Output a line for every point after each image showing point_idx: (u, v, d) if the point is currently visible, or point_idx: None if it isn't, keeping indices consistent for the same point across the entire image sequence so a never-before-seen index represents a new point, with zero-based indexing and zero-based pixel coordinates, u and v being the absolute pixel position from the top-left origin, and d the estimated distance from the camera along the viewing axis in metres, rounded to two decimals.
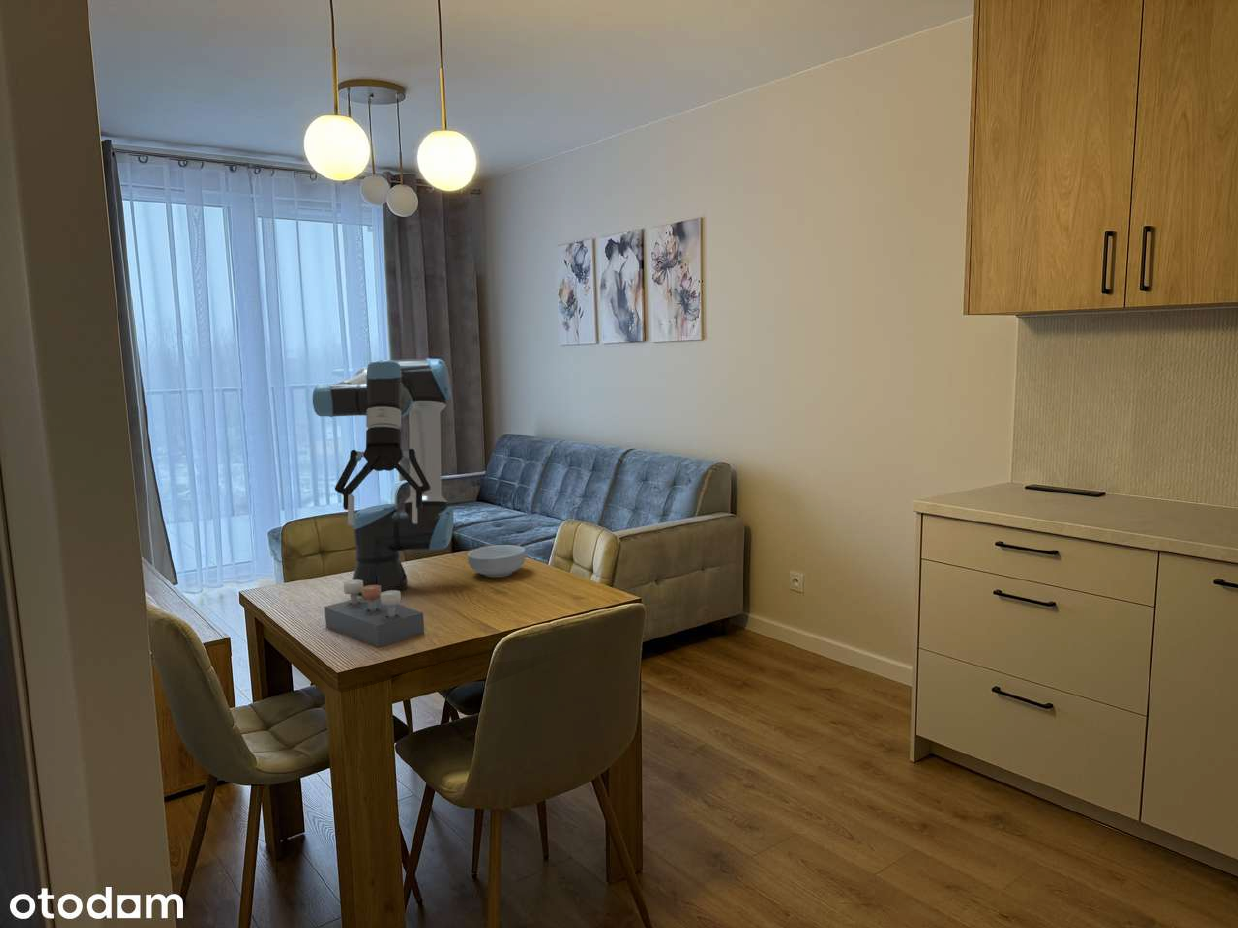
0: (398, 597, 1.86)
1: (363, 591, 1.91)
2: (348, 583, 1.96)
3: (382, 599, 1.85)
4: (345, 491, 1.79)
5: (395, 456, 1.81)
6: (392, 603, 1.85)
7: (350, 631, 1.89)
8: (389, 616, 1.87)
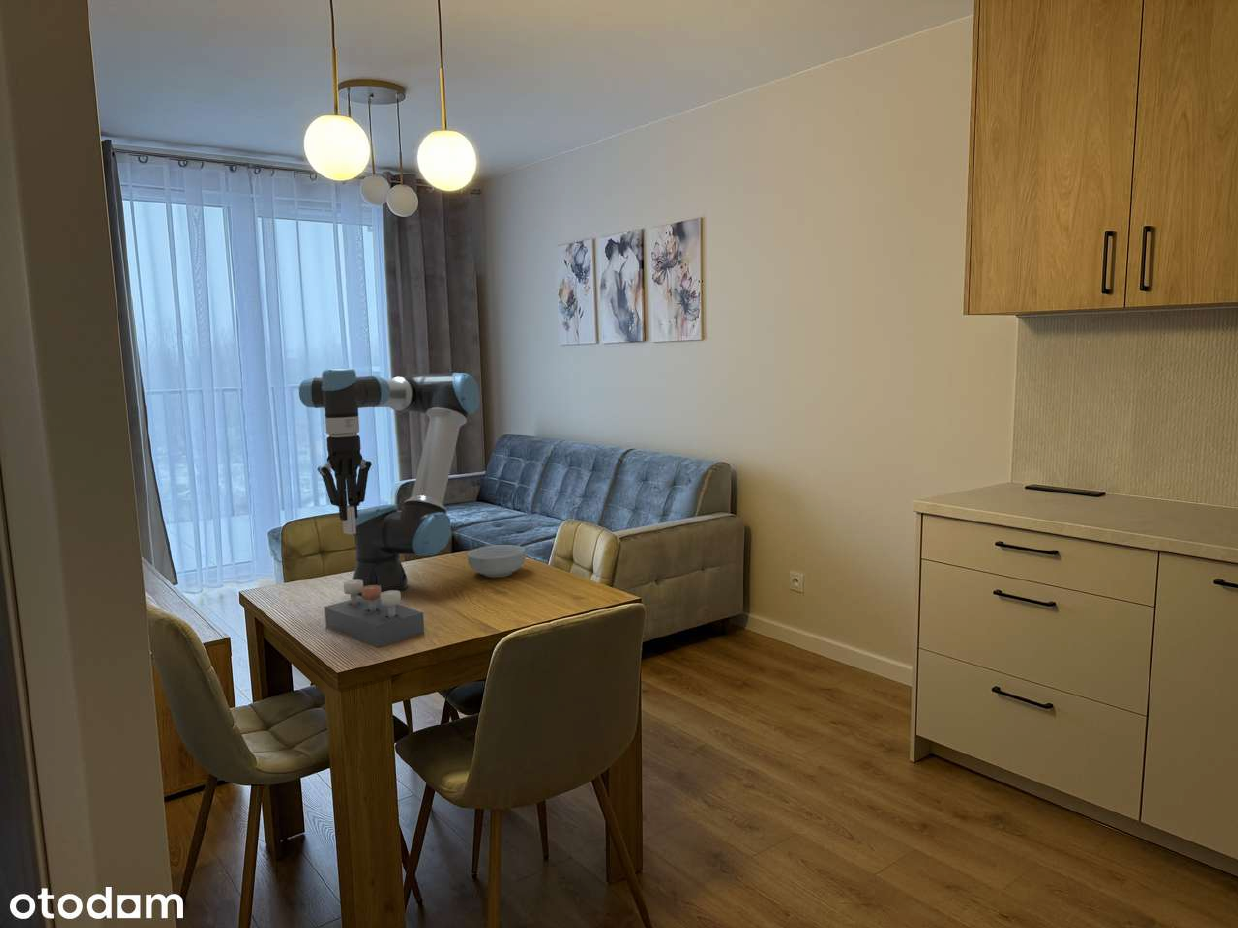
0: (398, 597, 1.86)
1: (363, 591, 1.91)
2: (348, 583, 1.96)
3: (382, 599, 1.85)
4: (345, 505, 1.93)
5: (357, 461, 1.95)
6: (392, 603, 1.85)
7: (350, 631, 1.89)
8: (389, 616, 1.87)
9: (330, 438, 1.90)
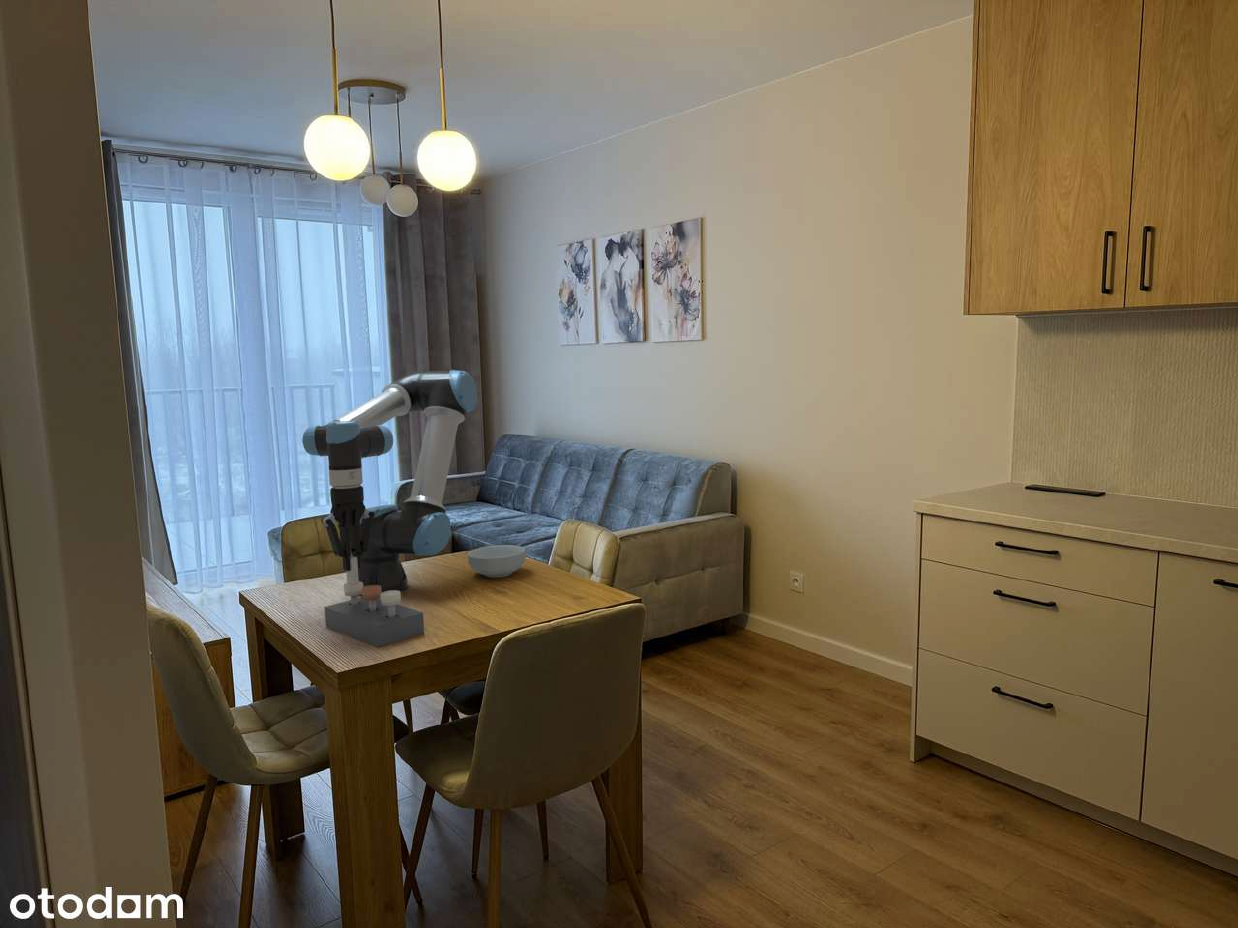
0: (398, 597, 1.86)
1: (363, 591, 1.91)
2: (348, 585, 1.96)
3: (382, 599, 1.85)
4: (348, 555, 1.95)
5: (361, 511, 1.97)
6: (392, 603, 1.85)
7: (350, 631, 1.89)
8: (389, 616, 1.87)
9: (334, 490, 1.92)
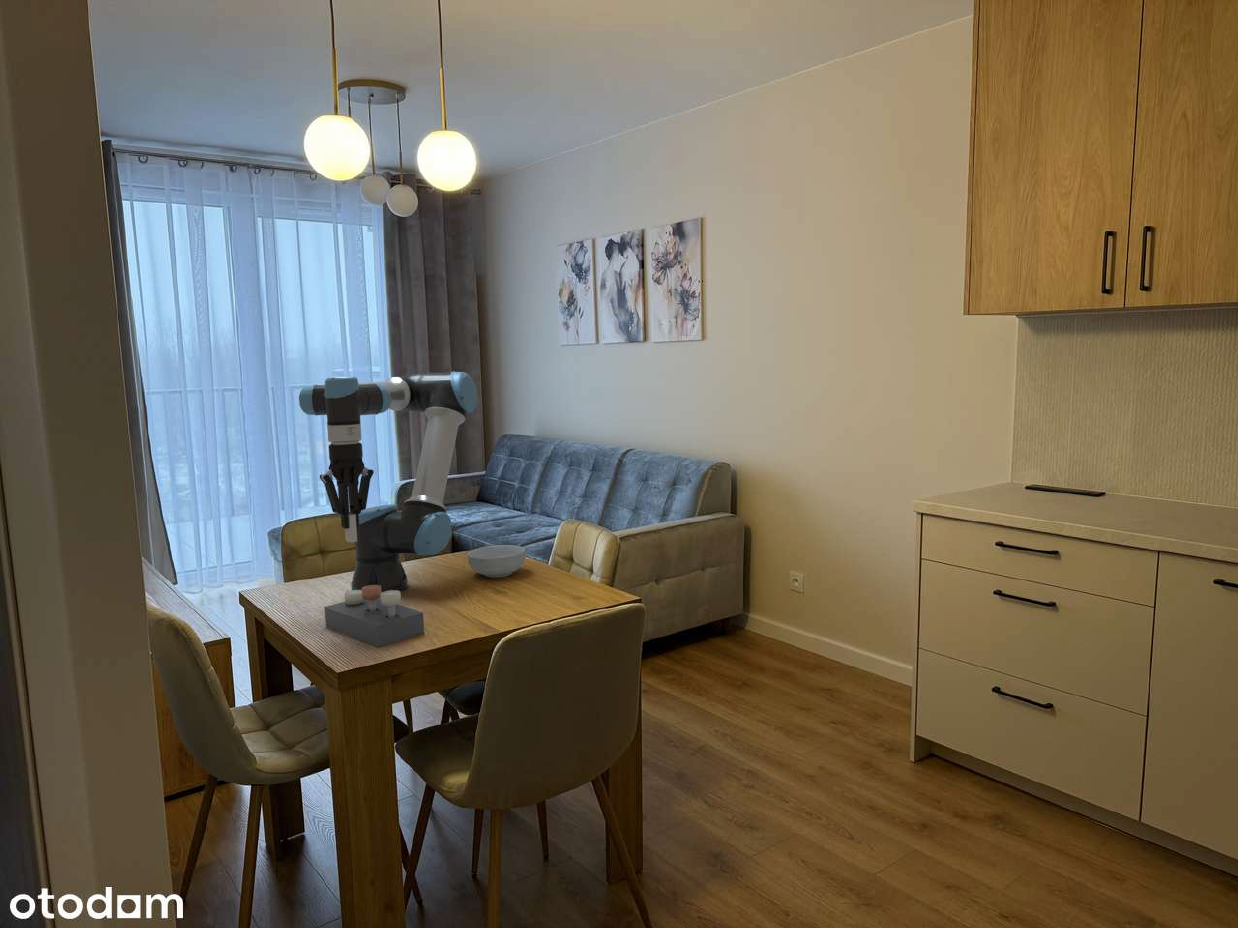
0: (398, 597, 1.86)
1: (363, 591, 1.91)
2: (349, 594, 1.97)
3: (382, 599, 1.85)
4: (347, 513, 1.93)
5: (359, 469, 1.95)
6: (392, 603, 1.85)
7: (350, 631, 1.89)
8: (389, 616, 1.87)
9: (332, 446, 1.90)
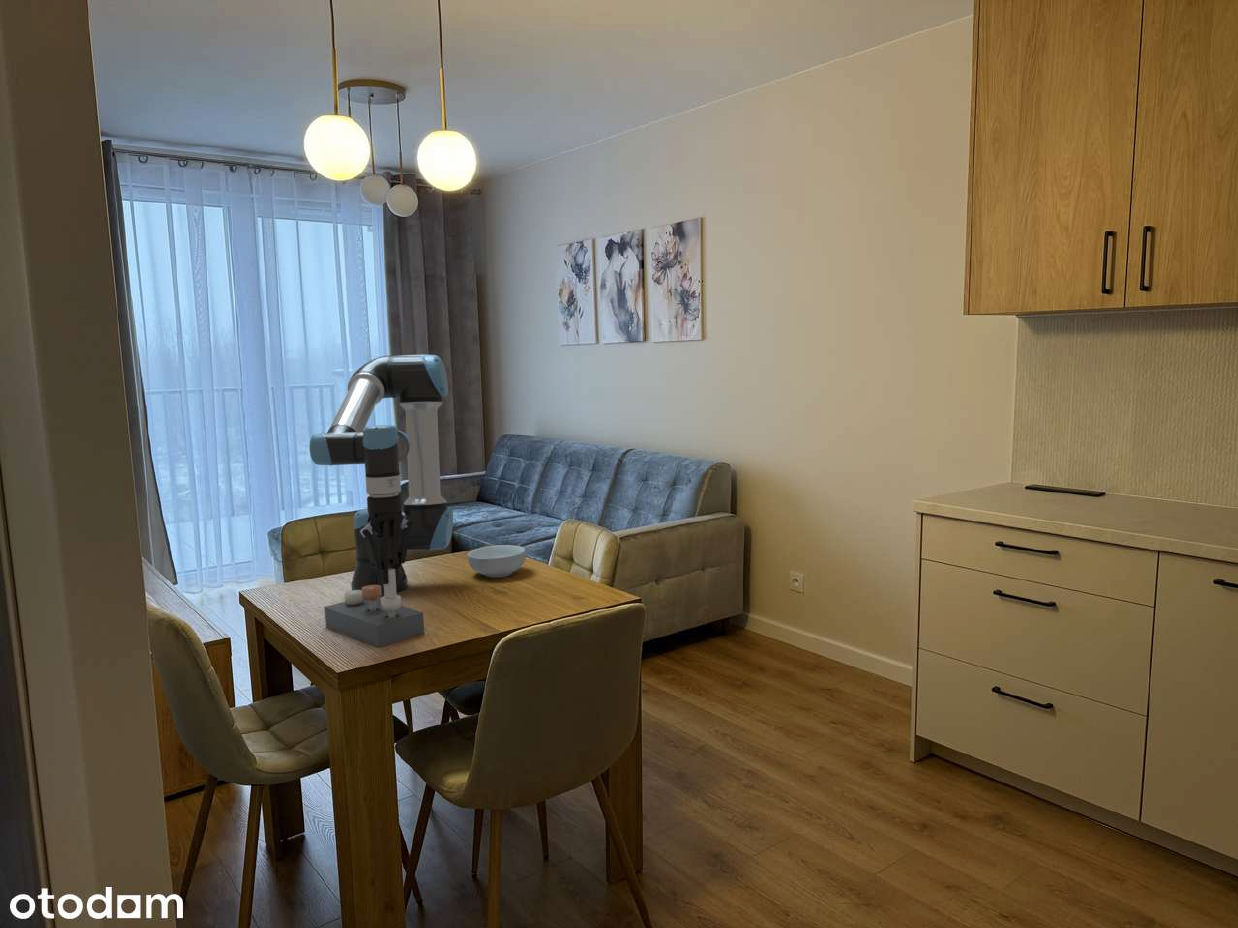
0: (398, 602, 1.86)
1: (363, 591, 1.91)
2: (349, 594, 1.97)
3: (382, 604, 1.86)
4: (386, 568, 1.84)
5: (399, 521, 1.86)
6: (392, 608, 1.85)
7: (350, 631, 1.89)
8: None
9: (371, 498, 1.81)
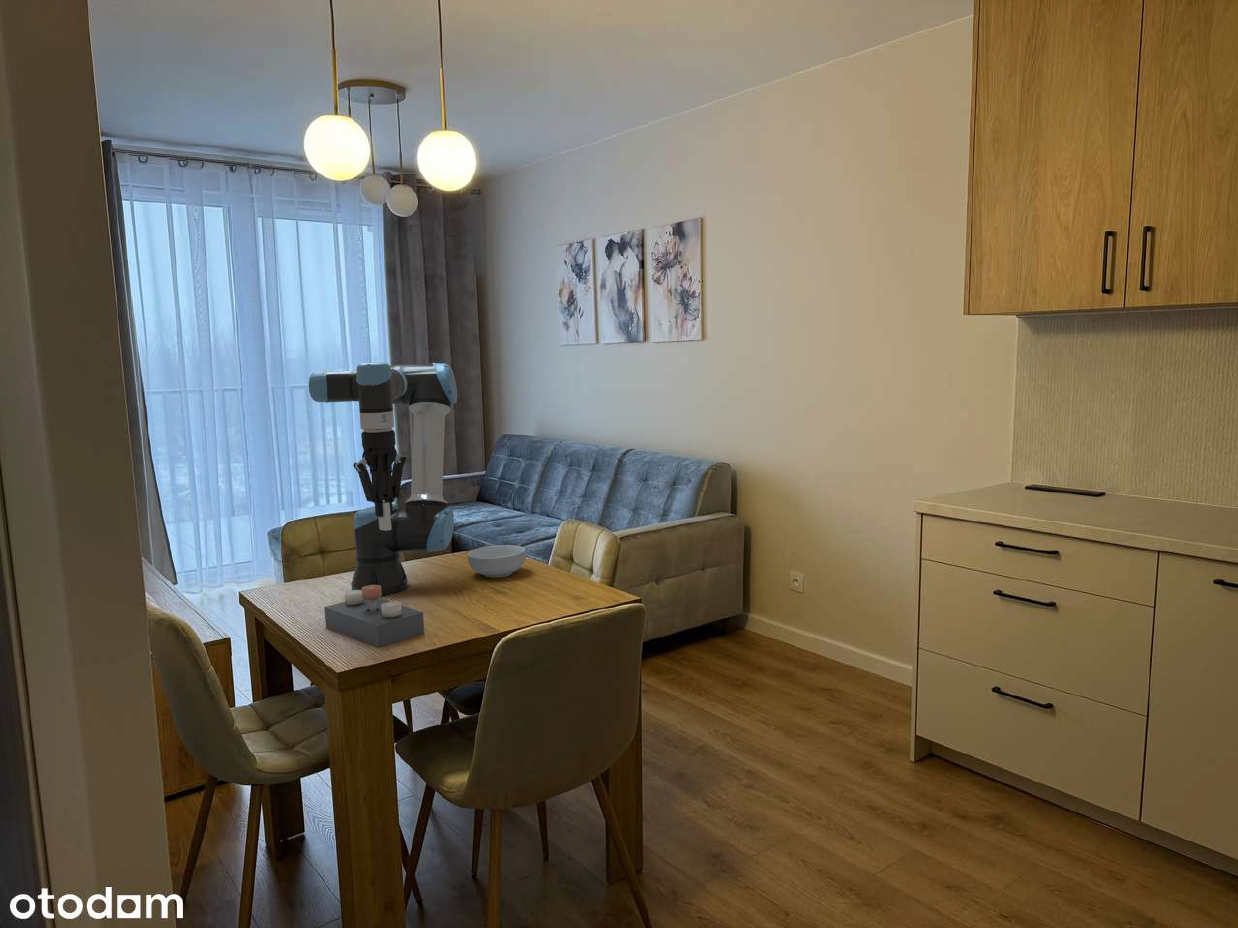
0: (399, 608, 1.87)
1: (363, 591, 1.91)
2: (349, 594, 1.97)
3: (382, 611, 1.86)
4: (381, 501, 1.90)
5: (392, 456, 1.92)
6: (393, 614, 1.85)
7: (350, 631, 1.89)
8: None
9: (365, 434, 1.86)
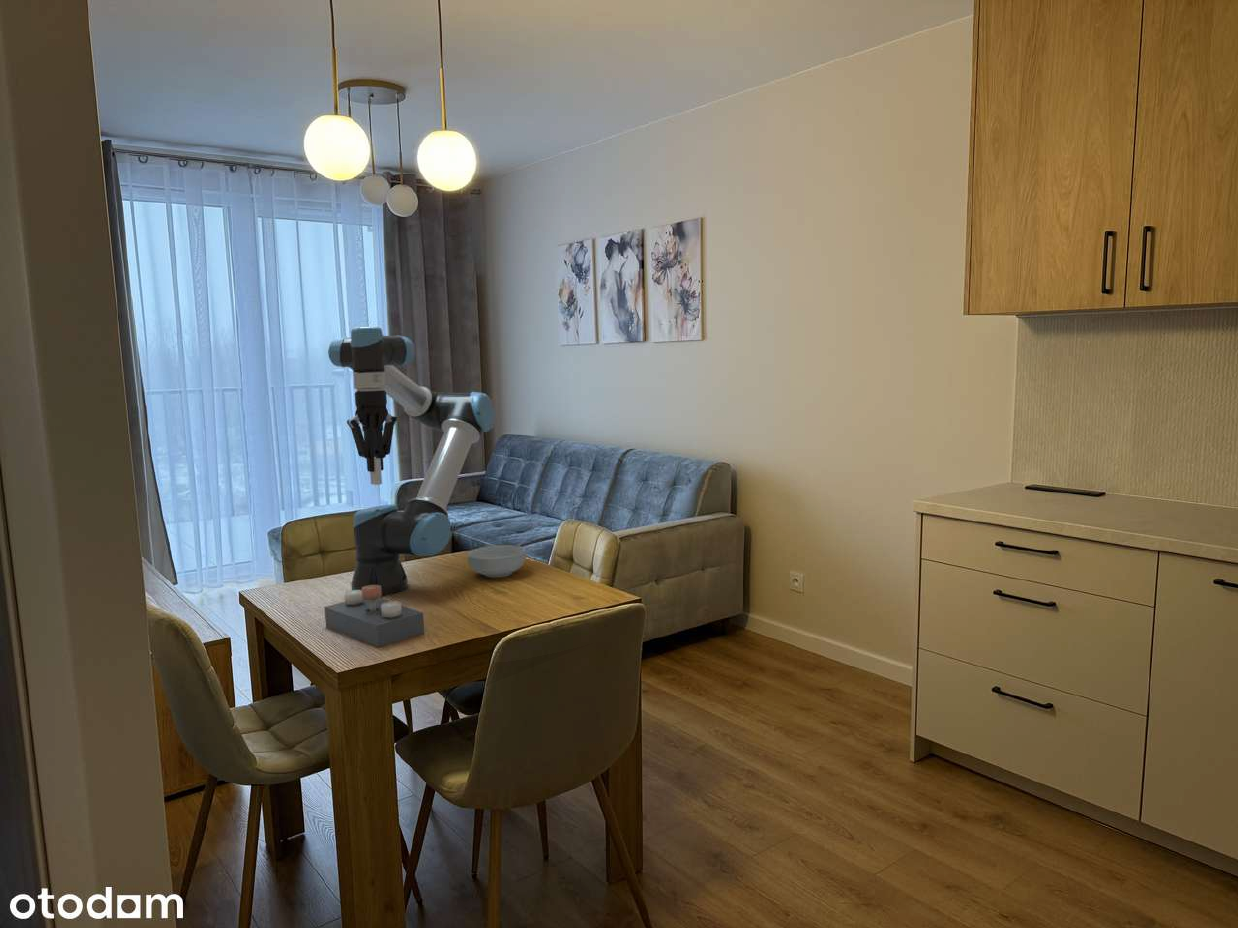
0: (399, 608, 1.87)
1: (363, 591, 1.91)
2: (349, 594, 1.97)
3: (382, 611, 1.86)
4: (372, 456, 2.03)
5: (384, 415, 2.05)
6: (393, 614, 1.85)
7: (350, 631, 1.89)
8: None
9: (358, 392, 2.00)
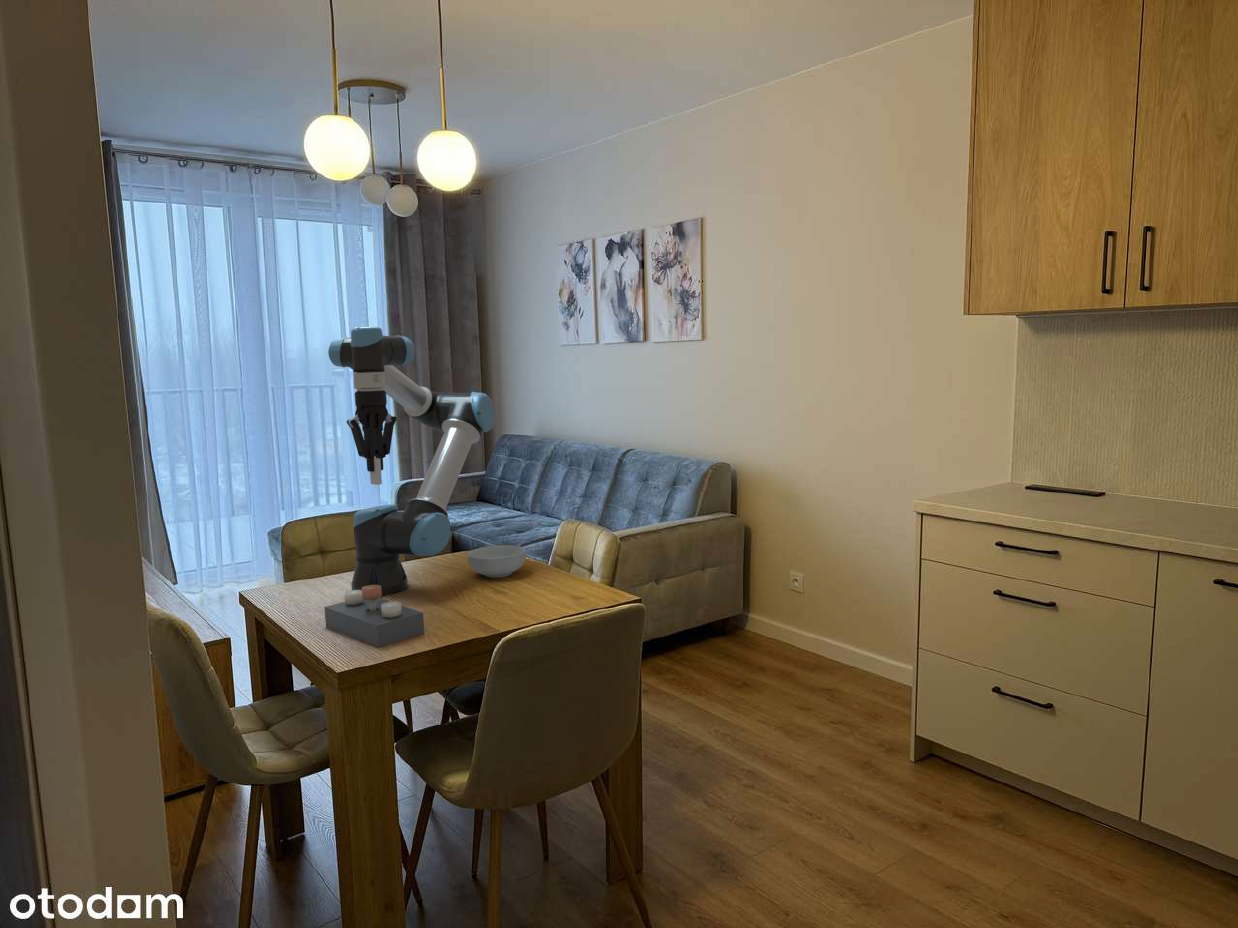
0: (399, 608, 1.87)
1: (363, 591, 1.91)
2: (349, 594, 1.97)
3: (382, 611, 1.86)
4: (372, 456, 2.03)
5: (384, 415, 2.05)
6: (393, 614, 1.85)
7: (350, 631, 1.89)
8: None
9: (358, 392, 2.00)
